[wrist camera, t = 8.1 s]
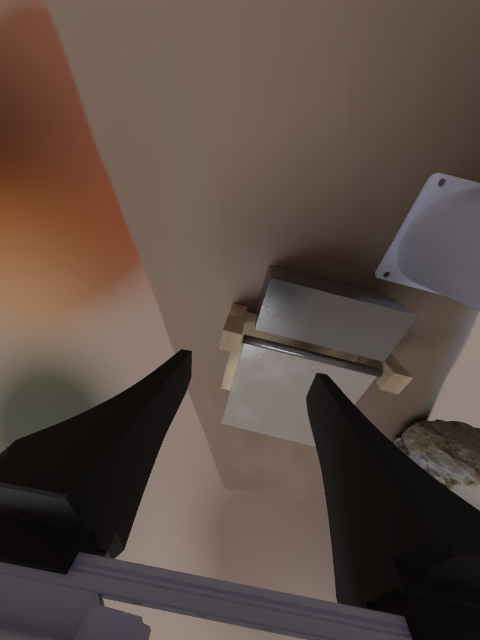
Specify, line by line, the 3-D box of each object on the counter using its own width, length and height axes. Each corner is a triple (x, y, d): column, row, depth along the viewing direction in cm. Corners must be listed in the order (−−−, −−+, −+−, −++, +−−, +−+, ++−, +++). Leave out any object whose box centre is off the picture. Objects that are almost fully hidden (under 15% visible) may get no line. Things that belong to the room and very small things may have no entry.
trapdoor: (392, 296, 18) (428, 318, 14) (314, 416, 26) (322, 450, 22) (261, 262, 18) (261, 275, 14) (225, 393, 26) (219, 424, 22)
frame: (377, 339, 21) (413, 377, 16) (327, 412, 27) (341, 456, 22) (232, 303, 21) (223, 329, 16) (214, 384, 27) (203, 422, 22)
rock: (524, 489, 16) (500, 429, 23) (439, 424, 19) (441, 389, 26) (417, 526, 22) (424, 469, 28) (365, 472, 25) (383, 432, 32)
